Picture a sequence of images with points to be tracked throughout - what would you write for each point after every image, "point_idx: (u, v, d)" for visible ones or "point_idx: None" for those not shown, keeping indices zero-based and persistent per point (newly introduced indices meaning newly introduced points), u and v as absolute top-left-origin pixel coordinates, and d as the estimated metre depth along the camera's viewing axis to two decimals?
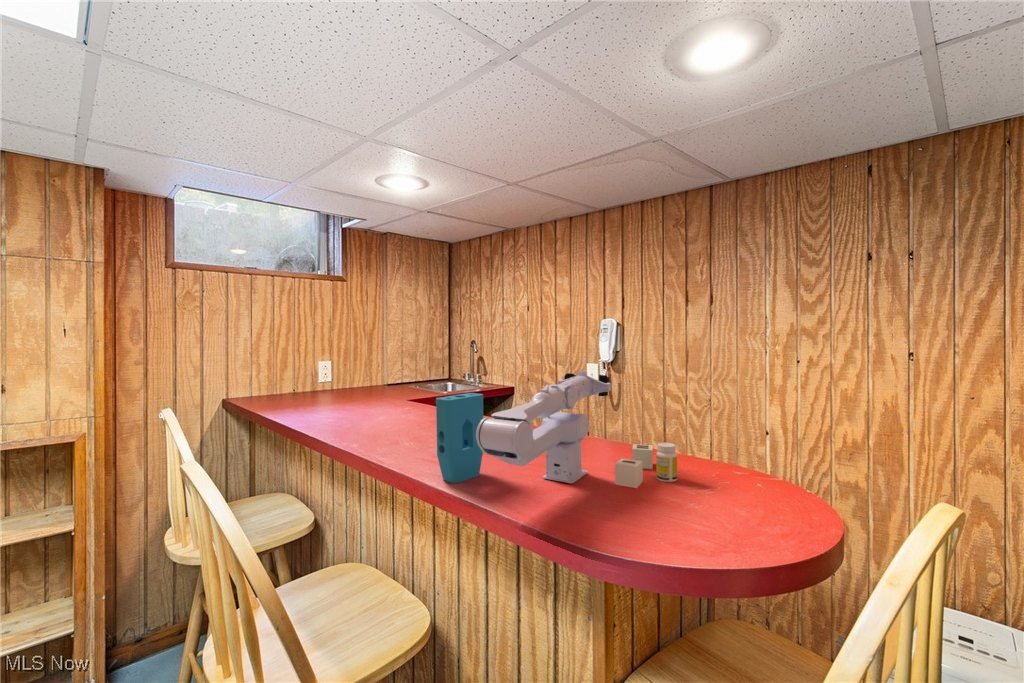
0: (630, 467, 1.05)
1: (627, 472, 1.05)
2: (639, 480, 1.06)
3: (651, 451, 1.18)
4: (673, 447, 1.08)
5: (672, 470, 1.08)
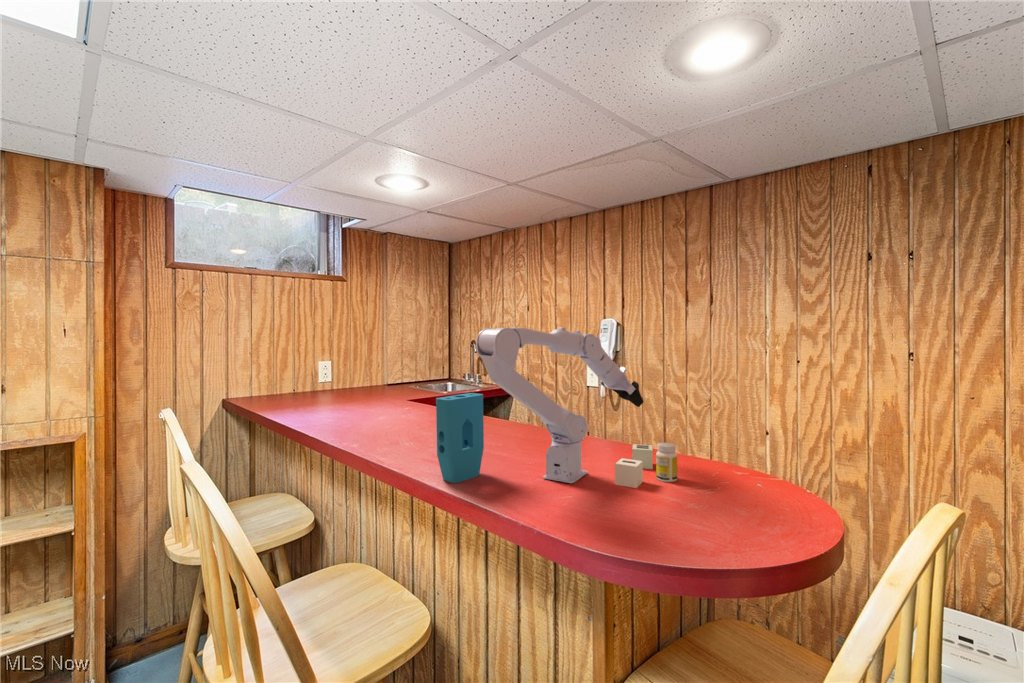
0: (630, 467, 1.05)
1: (627, 472, 1.05)
2: (639, 480, 1.06)
3: (651, 451, 1.18)
4: (673, 447, 1.08)
5: (672, 470, 1.08)
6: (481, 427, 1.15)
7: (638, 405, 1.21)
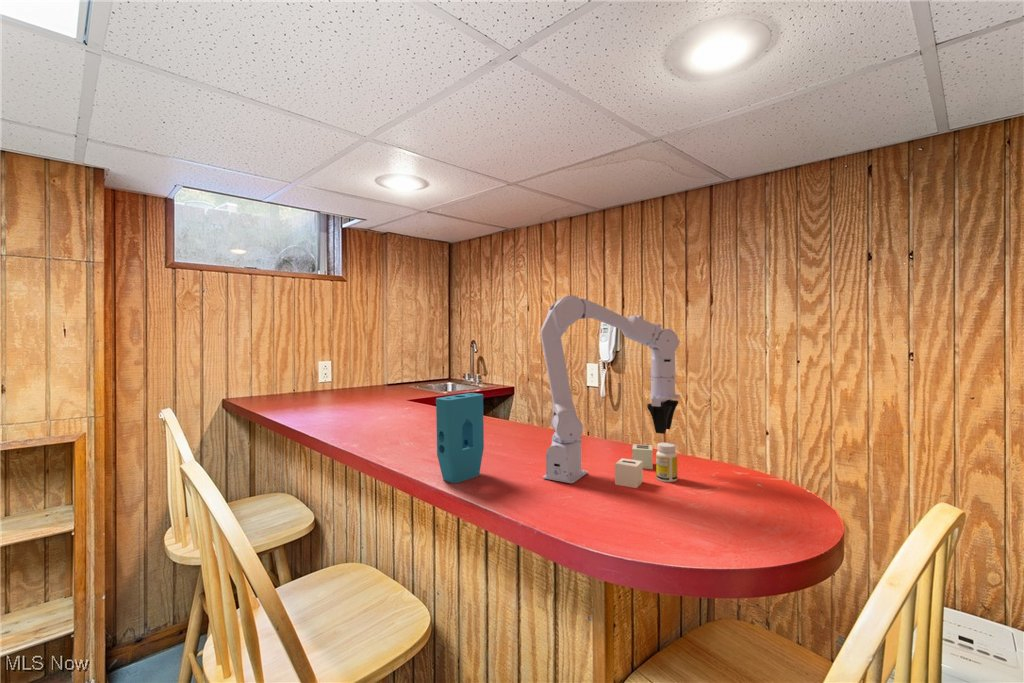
0: (630, 467, 1.05)
1: (627, 472, 1.05)
2: (639, 480, 1.06)
3: (651, 451, 1.18)
4: (673, 447, 1.08)
5: (672, 470, 1.08)
6: (481, 427, 1.15)
7: (656, 431, 1.13)
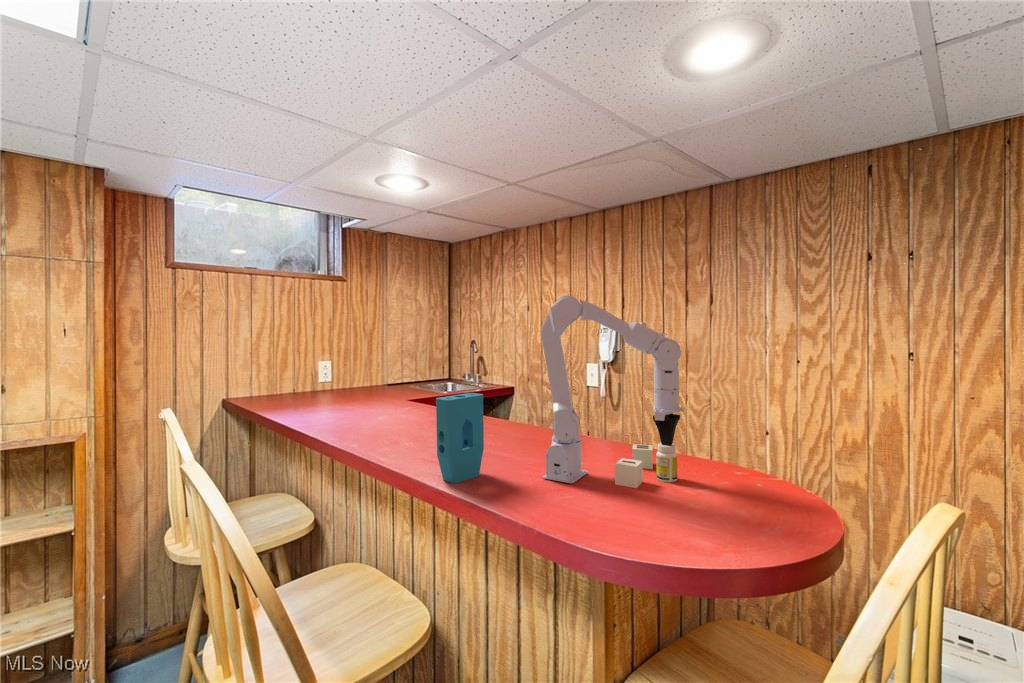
0: (630, 467, 1.05)
1: (627, 472, 1.05)
2: (639, 480, 1.06)
3: (651, 451, 1.18)
4: (673, 447, 1.08)
5: (672, 470, 1.08)
6: (481, 427, 1.15)
7: (663, 443, 1.10)
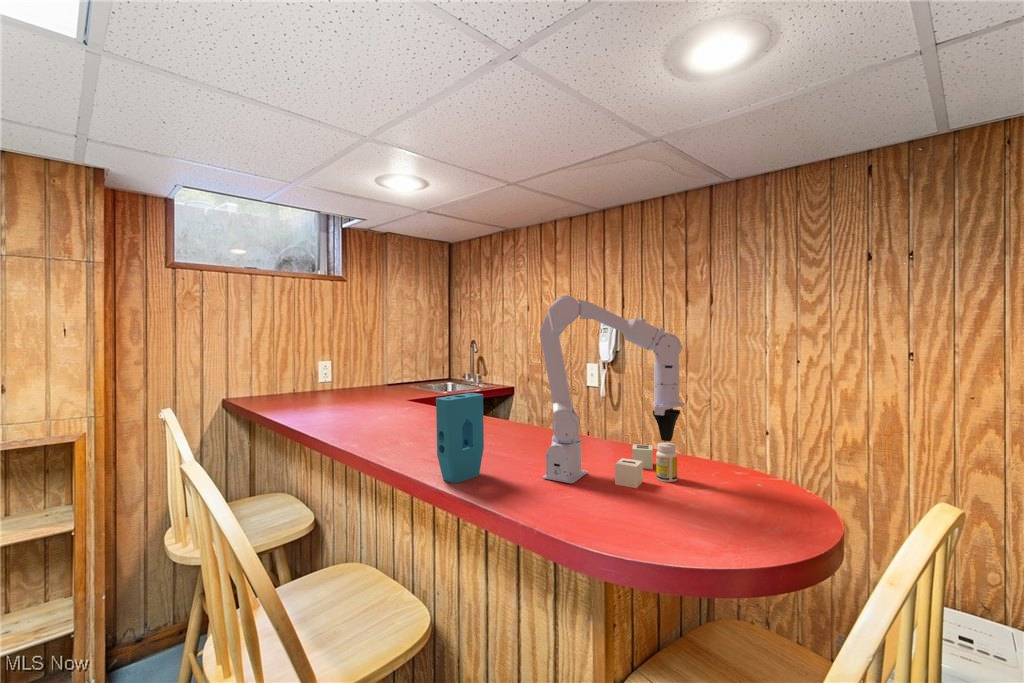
0: (630, 467, 1.05)
1: (627, 472, 1.05)
2: (639, 480, 1.06)
3: (651, 451, 1.18)
4: (673, 447, 1.08)
5: (672, 470, 1.08)
6: (481, 427, 1.15)
7: (662, 438, 1.09)
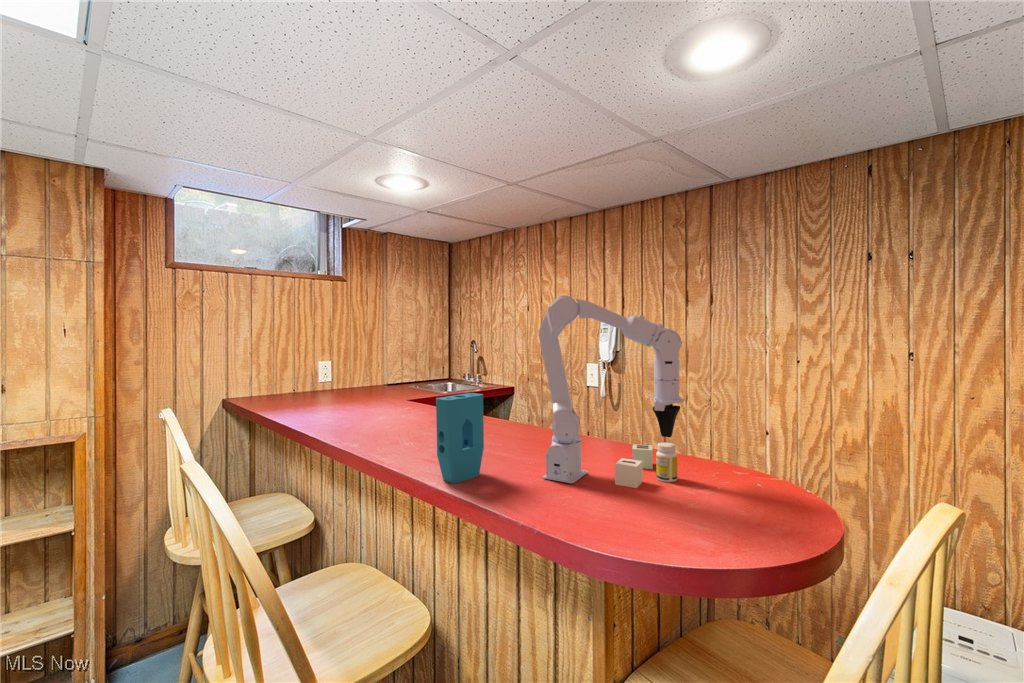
0: (630, 467, 1.05)
1: (627, 472, 1.05)
2: (639, 480, 1.06)
3: (651, 451, 1.18)
4: (673, 447, 1.08)
5: (672, 470, 1.08)
6: (481, 427, 1.15)
7: (662, 434, 1.09)
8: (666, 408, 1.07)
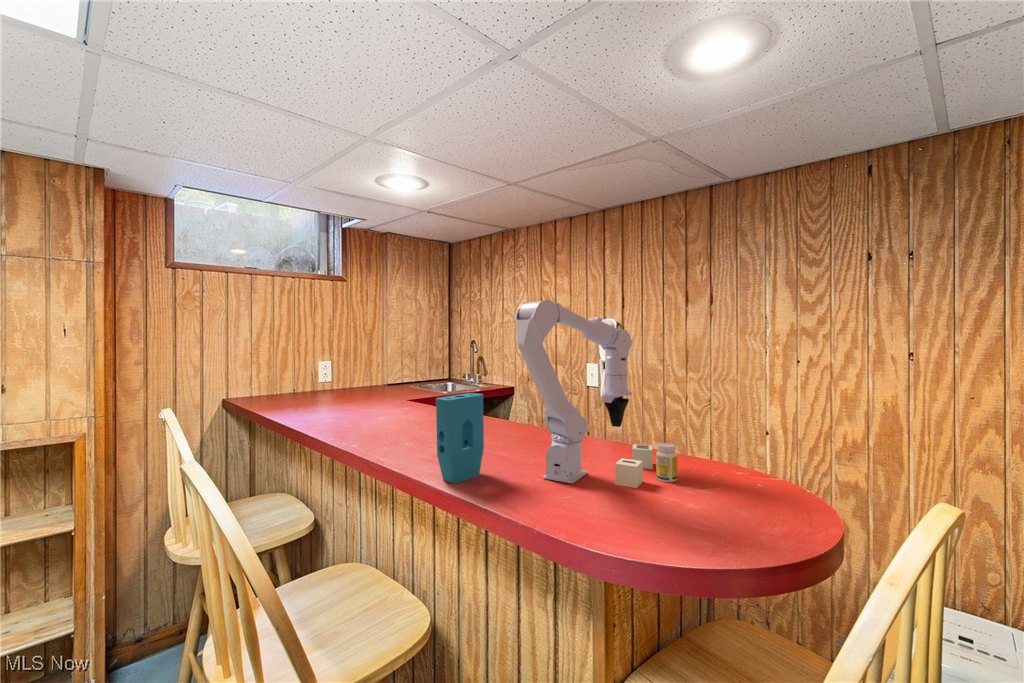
0: (630, 467, 1.05)
1: (627, 472, 1.05)
2: (639, 480, 1.06)
3: (651, 451, 1.18)
4: (673, 447, 1.08)
5: (672, 470, 1.08)
6: (481, 427, 1.15)
7: (612, 424, 1.21)
8: (615, 400, 1.18)
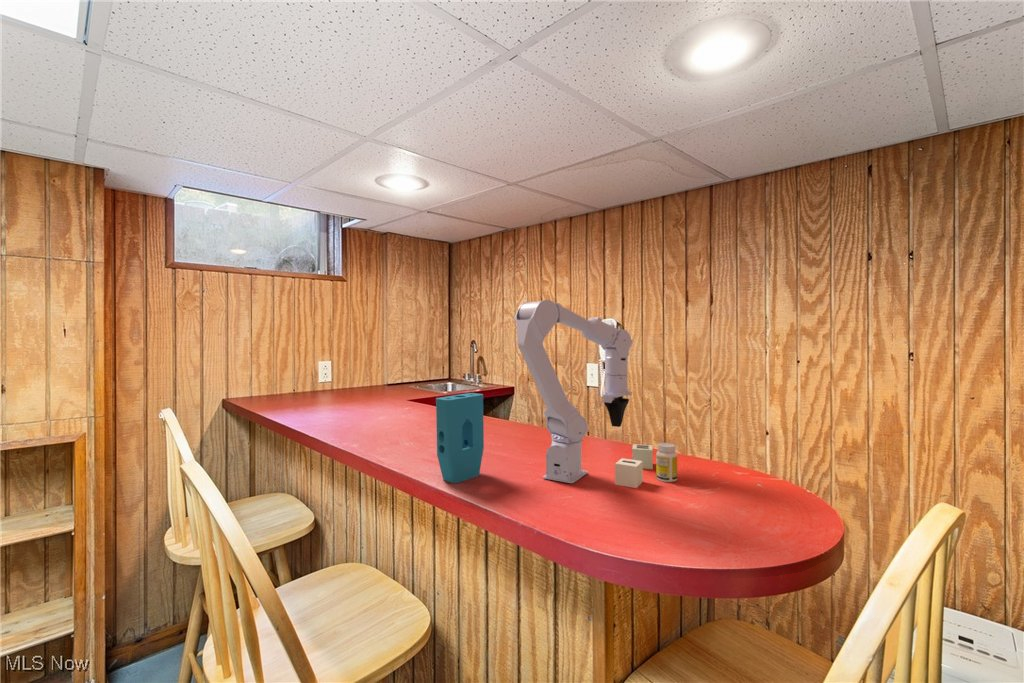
0: (630, 467, 1.05)
1: (627, 472, 1.05)
2: (639, 480, 1.06)
3: (651, 451, 1.18)
4: (673, 447, 1.08)
5: (672, 470, 1.08)
6: (481, 427, 1.15)
7: (612, 424, 1.21)
8: (615, 400, 1.18)
